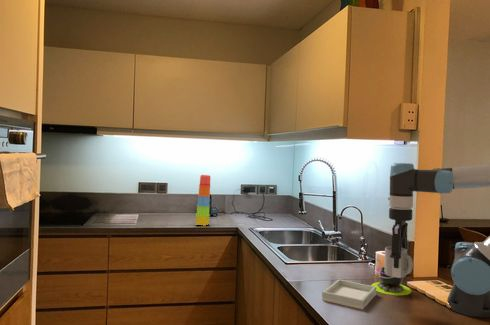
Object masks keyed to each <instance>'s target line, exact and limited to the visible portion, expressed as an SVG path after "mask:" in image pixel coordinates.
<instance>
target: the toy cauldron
mask: <svg viewBox="0 0 490 325" xmlns="http://www.w3.org/2000/svg"><path fill="white" fill-rule="evenodd" d="M376 271H377V272H378V276H379V278H380V281H378V282H373V283H372V284H370V286H375V287H376V292H379V293H380V294H386V295H390V296H406V295H407V296H408V295H410V294H411V293H412V289H411V288H410V287H408V286H406V285H403V284H402V282H403V280H404V277H401V278H397V277H391V276H388V275H386V274H385V266H381V267H377V268H376Z"/></svg>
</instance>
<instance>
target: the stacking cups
mask: <svg viewBox="0 0 490 325" xmlns="http://www.w3.org/2000/svg"><path fill="white" fill-rule="evenodd" d="M198 186H199V187H198V194H197V196H198V197H197V204H196V213H195V217H196V218H195V224H198V225H208V224H210V216H211V214H210V207H211V204H210V203H211V175H210V174H209V175H208V174H201V175H200V177H199V184H198Z"/></svg>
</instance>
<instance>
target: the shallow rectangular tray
mask: <svg viewBox="0 0 490 325" xmlns="http://www.w3.org/2000/svg"><path fill="white" fill-rule="evenodd" d="M376 295H377V291H376V287H375V286H371V284H370V285H369V284H363V283H359V282H354V281H350V280H345V279H344V280H343V279H340V278H339V279H337V280H336V281H334V282H333V283H332V284H331V285H329V286H328V287H327V288H325V289H323V291H322V293H321V300H322V301H324V302H325V301H326V302H329V303H333V304H337V305H342V306H345V307H351V308H354V309H359V310H364V309H365V308H366V306H368V304H369V303H370V302H371V301H372V300H373V299H374V298H375V297H376Z"/></svg>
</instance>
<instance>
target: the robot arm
mask: <svg viewBox="0 0 490 325" xmlns="http://www.w3.org/2000/svg"><path fill="white" fill-rule="evenodd" d="M389 173H390V174H389V197H387V200H388V201H389V204H388V205H389V207H390V208H388V218H389V219H390V220H394V224H393V226H392V229H391V230H392V232H391V233H392V236H391V239H392V240H391V247H392V251H391V255H390V257H391V258H393V262H392V277H397V278H401V248H405V249H407V254H409V250H408V225H409V224H408V222H409V221H412V220H413V209H412V208H414V207H413V206H414V192H416V193H418V192H419V193H430V194H431V193H433V194H435V193H436V194H440V195H441V194H451V193H452V191H453V190H456V189H457V190H458V189H475V188H490V164H482V165H481V164H480V165H469V166H457V167H456V166H455V167H447V168H446V167H444V168H440V167H439V168H433V169H416V168H415V166H414V163H405V162H401V163H400V162H394V163H391V166H390V172H389ZM450 275H451V279H452V281H453V285H452V286H451V289H450V292H449V294H448V296H447V300H446V303H447V302H448V303H449V305H450V306H451V309H452V310H451V309H450V310H451V311H452V312H453V311H454V312H455V313H458V314H461V315H465V316H468V317H473V318H479V319H480V318H482V319H488V318H489V319H490V235H488V237H486V239H485V240H484V241H480V242H479V241H475V242H467V241H459V242H456V243H455V248H454V259H453V263H452V265H451V268H450Z"/></svg>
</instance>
